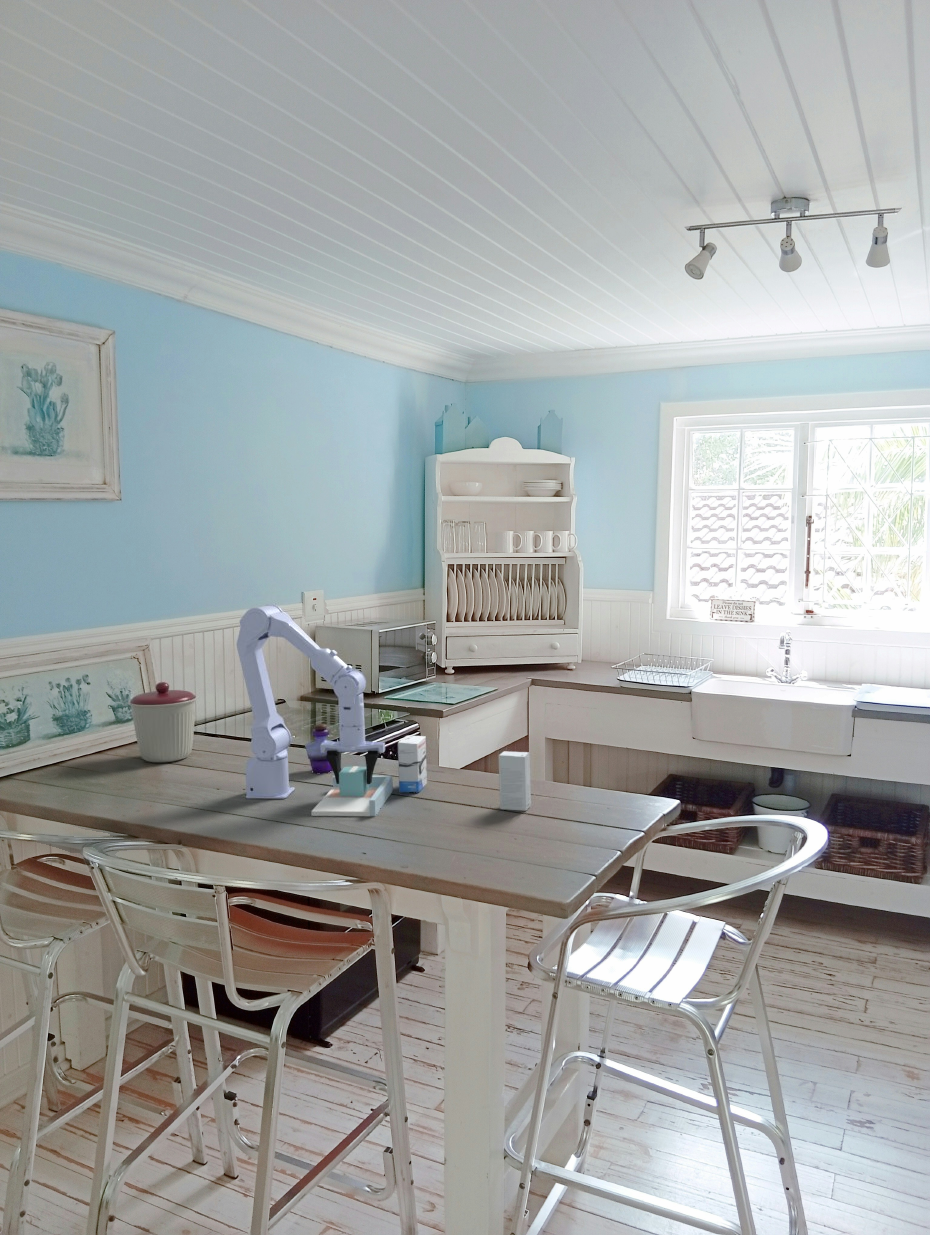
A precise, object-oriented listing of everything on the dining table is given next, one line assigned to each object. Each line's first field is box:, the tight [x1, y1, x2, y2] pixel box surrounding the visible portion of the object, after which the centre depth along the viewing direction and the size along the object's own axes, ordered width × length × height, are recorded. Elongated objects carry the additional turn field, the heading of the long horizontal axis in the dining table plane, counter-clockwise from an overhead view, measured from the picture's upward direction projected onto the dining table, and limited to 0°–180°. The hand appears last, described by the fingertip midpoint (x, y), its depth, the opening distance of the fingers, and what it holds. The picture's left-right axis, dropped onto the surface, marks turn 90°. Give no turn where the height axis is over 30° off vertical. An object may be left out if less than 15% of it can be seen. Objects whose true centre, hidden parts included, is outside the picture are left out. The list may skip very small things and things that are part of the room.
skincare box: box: [497, 750, 532, 812], centre depth 210 cm, size 6×4×12 cm
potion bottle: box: [304, 723, 334, 775], centre depth 245 cm, size 9×9×12 cm
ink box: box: [397, 734, 428, 794], centre depth 227 cm, size 8×5×12 cm, turn 168°
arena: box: [310, 774, 394, 817], centre depth 217 cm, size 14×20×4 cm
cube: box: [339, 765, 369, 797], centre depth 221 cm, size 6×6×6 cm
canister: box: [127, 681, 199, 763], centre depth 263 cm, size 18×18×21 cm
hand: (354, 783), depth 221 cm, fingers open, 6 cm apart
